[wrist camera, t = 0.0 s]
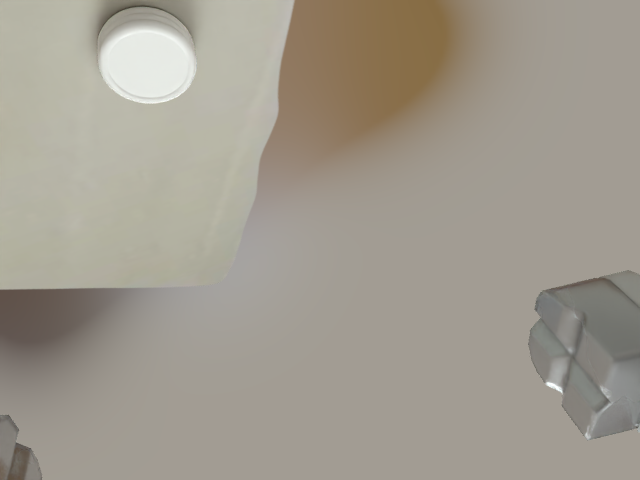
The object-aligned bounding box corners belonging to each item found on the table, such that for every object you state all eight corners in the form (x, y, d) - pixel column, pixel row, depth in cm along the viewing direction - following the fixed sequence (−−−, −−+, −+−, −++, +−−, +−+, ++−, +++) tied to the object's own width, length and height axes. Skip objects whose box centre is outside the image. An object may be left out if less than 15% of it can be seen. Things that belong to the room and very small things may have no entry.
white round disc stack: (109, -10, 55) (110, 10, 53) (206, 22, 60) (210, 41, 58) (88, 72, 61) (88, 92, 59) (177, 95, 66) (180, 114, 64)
